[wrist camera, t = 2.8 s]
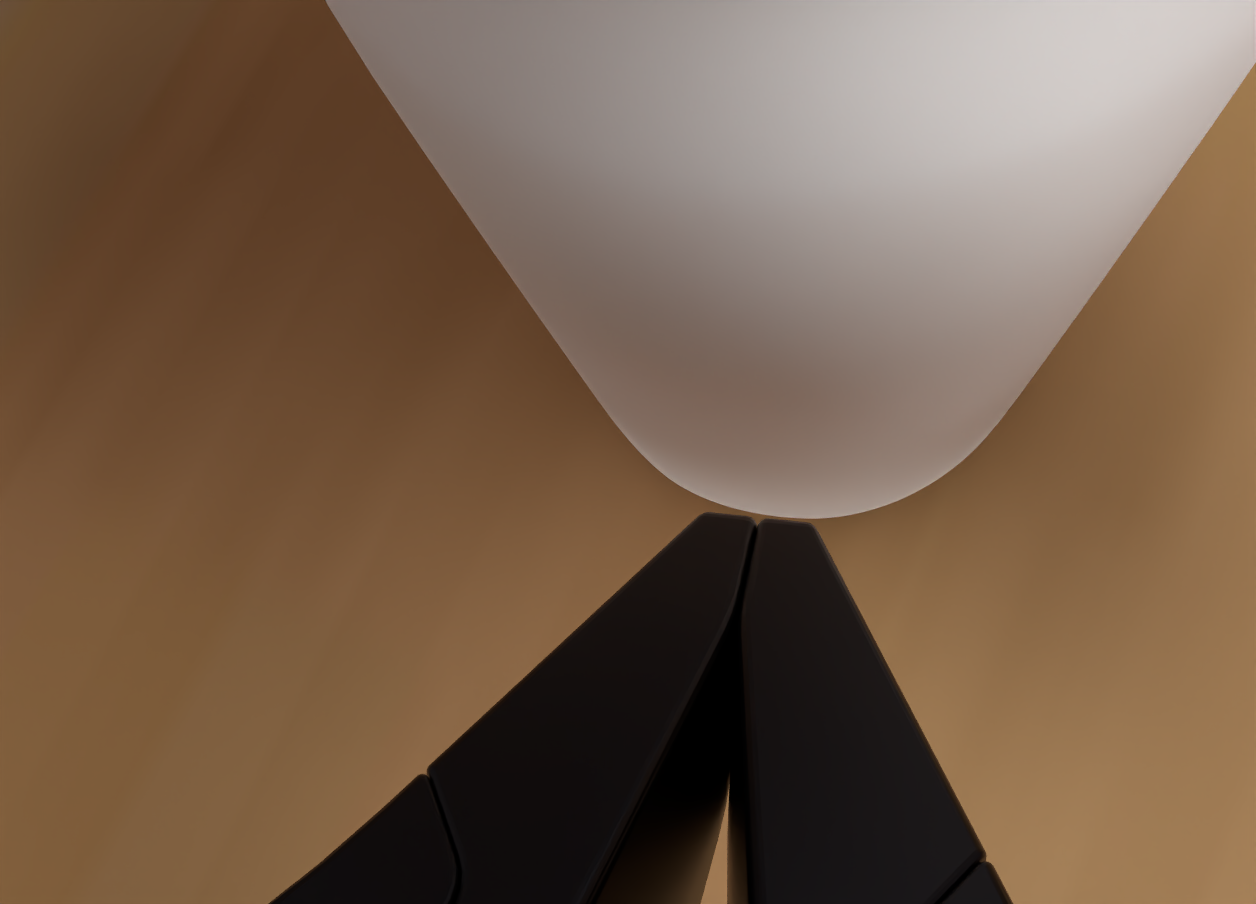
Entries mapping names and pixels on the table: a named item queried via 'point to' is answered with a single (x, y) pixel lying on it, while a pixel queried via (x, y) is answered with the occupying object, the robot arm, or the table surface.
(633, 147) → the can
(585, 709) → the robot arm
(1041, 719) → the table surface
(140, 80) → the table surface
